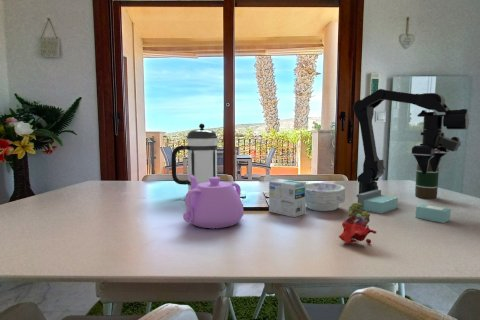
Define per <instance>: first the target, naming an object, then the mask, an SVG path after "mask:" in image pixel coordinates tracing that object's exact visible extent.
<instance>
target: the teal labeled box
mask: <svg viewBox="0 0 480 320" xmlns="http://www.w3.org/2000/svg"><path fill="white" fill-rule="evenodd" d="M451 211H452V209H451V208H448V207H443V206H442V207H441V206H438V205H437V206H435V205H430V204H424V203H421V204H419V205H417V206H416V207H415V218H417V219H421V220H427V221H432V222H437V223H441V224H446V223H447V222H449V221H450V220H451Z"/></svg>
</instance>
